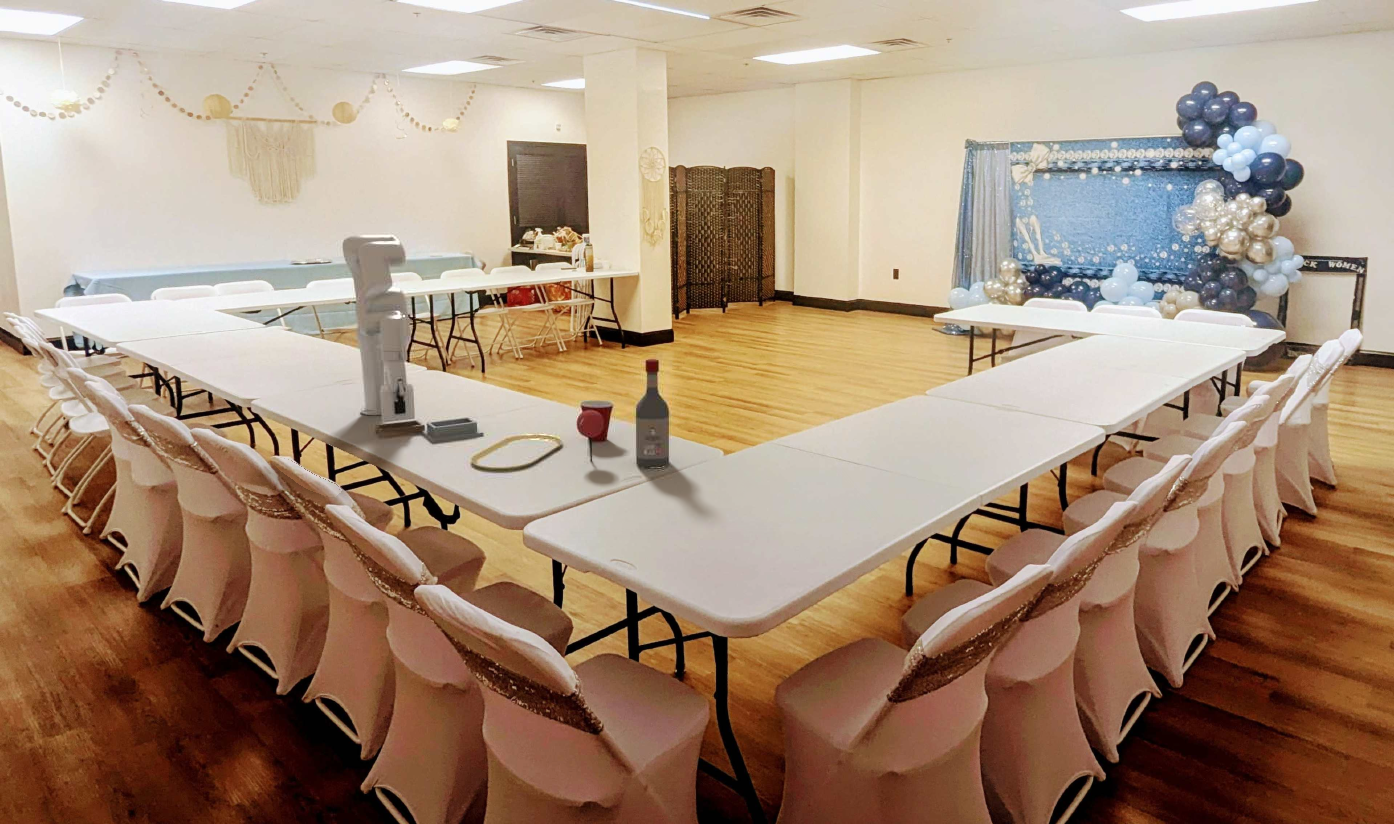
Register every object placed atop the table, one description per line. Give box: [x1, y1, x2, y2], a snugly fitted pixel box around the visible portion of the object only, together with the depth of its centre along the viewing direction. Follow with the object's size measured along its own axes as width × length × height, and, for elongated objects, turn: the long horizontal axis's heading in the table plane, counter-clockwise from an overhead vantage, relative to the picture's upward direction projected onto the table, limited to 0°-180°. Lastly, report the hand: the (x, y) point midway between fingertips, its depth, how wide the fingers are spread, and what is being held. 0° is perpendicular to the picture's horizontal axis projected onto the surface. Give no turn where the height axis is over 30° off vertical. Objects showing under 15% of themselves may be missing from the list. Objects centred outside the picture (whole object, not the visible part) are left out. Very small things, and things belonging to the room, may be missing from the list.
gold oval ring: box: [470, 433, 563, 472], centre depth 267 cm, size 19×35×2 cm, turn 163°
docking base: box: [421, 416, 484, 444], centre depth 285 cm, size 12×16×4 cm
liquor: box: [635, 358, 670, 469], centre depth 254 cm, size 9×9×30 cm
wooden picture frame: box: [374, 419, 426, 439], centre depth 287 cm, size 8×14×2 cm, turn 122°
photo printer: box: [380, 382, 416, 423], centre depth 285 cm, size 10×4×12 cm, turn 123°
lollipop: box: [576, 410, 604, 462], centre depth 258 cm, size 8×8×15 cm
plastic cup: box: [578, 399, 615, 443], centre depth 281 cm, size 11×11×12 cm
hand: (398, 411), depth 286 cm, fingers closed on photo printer, 4 cm apart
